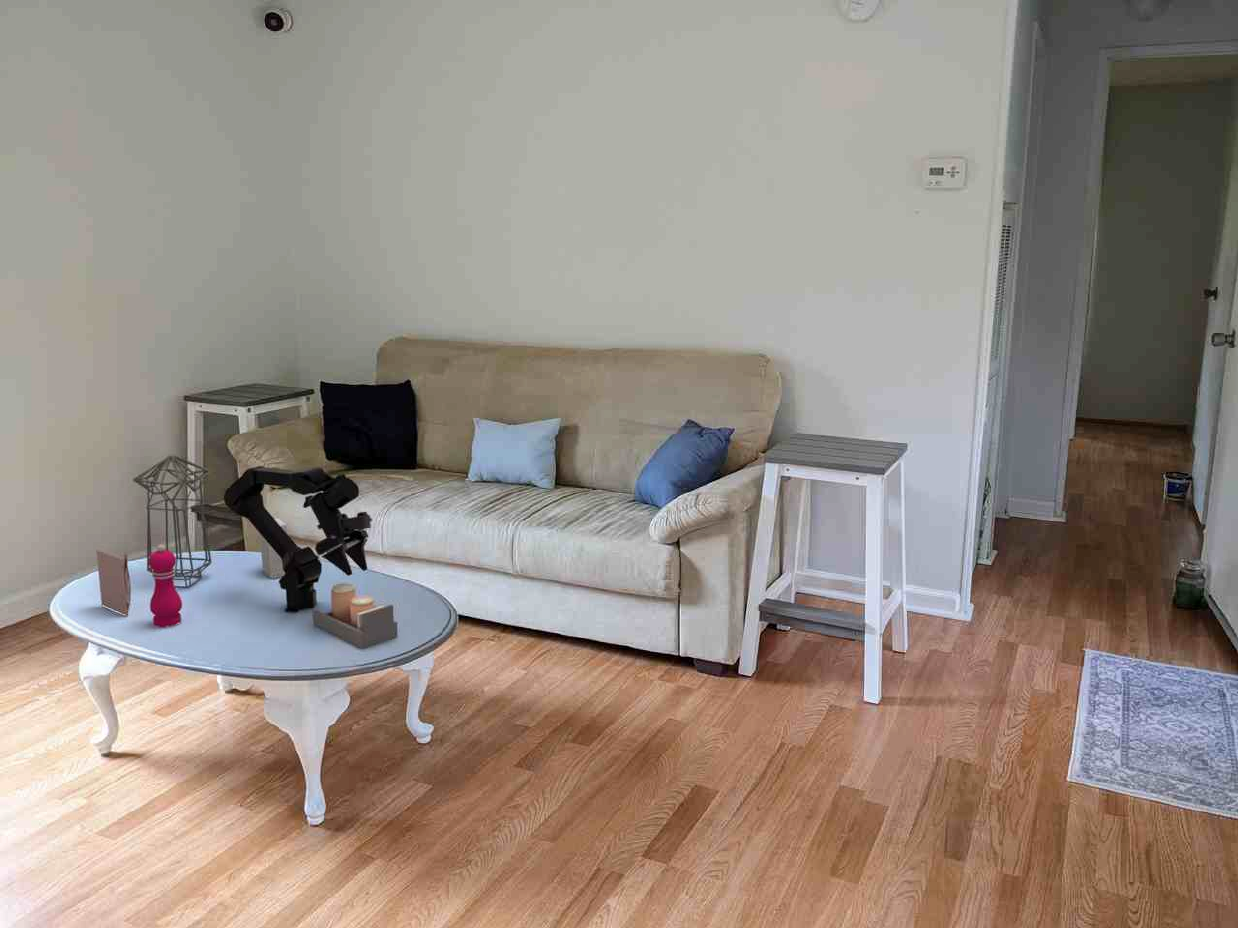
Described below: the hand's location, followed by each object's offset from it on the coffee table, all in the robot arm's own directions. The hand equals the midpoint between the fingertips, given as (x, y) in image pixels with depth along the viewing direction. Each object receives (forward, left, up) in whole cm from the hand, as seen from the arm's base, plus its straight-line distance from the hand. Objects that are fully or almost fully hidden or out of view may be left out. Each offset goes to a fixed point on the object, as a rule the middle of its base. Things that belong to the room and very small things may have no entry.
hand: (358, 572), depth 259 cm
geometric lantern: (-55, +26, -14) cm, 63 cm away
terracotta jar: (-3, -4, -13) cm, 13 cm away
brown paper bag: (-62, +4, -14) cm, 64 cm away
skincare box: (-32, +34, -14) cm, 49 cm away
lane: (+1, -7, -13) cm, 15 cm away
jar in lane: (+3, -9, -13) cm, 16 cm away
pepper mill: (-46, -3, -14) cm, 49 cm away
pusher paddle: (+6, -11, -12) cm, 18 cm away
